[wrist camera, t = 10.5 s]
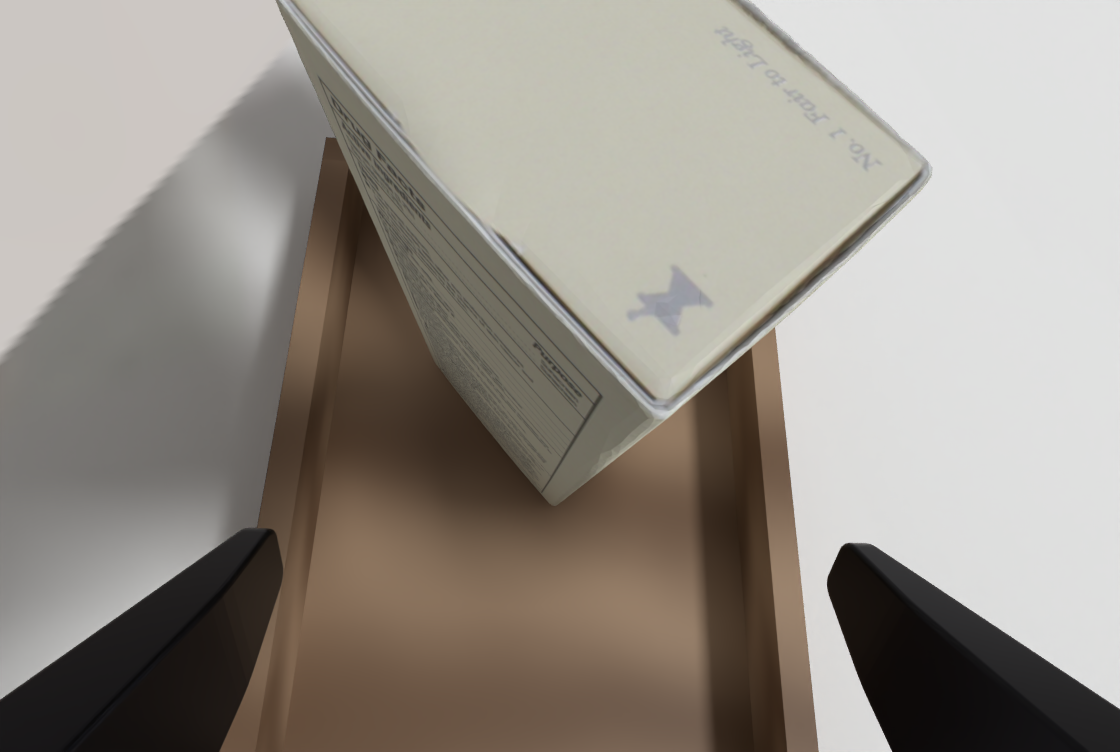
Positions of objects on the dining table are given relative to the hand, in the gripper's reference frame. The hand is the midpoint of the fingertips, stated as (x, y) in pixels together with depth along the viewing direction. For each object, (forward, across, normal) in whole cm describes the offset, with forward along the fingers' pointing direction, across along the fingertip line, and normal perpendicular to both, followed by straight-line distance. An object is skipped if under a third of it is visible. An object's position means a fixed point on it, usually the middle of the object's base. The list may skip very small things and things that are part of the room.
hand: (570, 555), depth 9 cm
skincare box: (+9, 0, +2) cm, 9 cm away
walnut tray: (+7, 0, +4) cm, 8 cm away
